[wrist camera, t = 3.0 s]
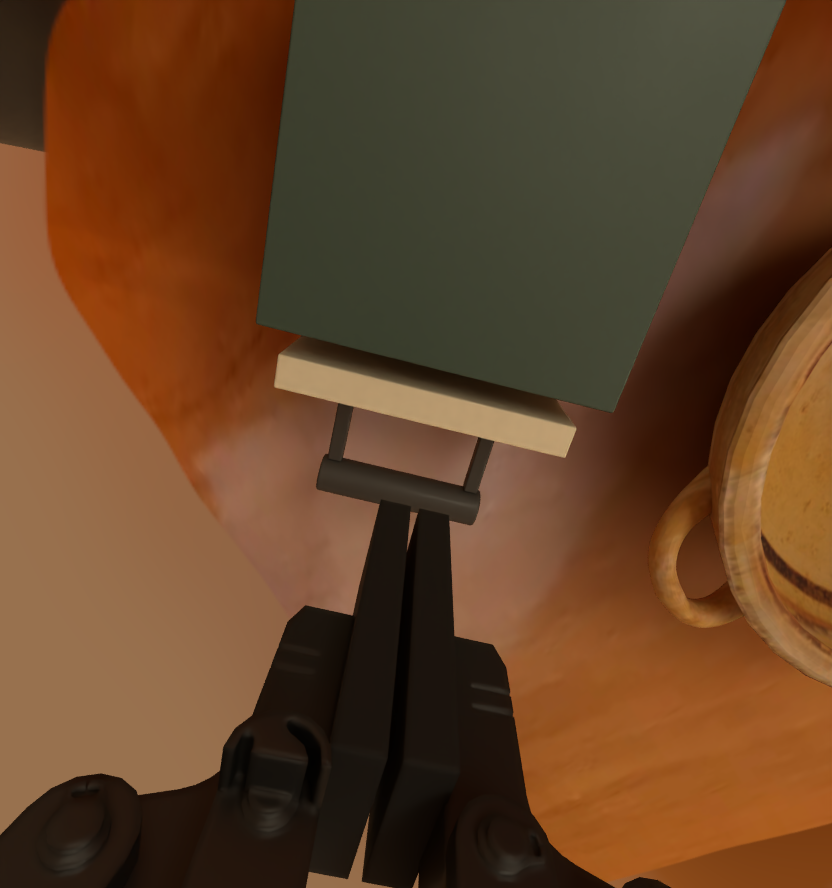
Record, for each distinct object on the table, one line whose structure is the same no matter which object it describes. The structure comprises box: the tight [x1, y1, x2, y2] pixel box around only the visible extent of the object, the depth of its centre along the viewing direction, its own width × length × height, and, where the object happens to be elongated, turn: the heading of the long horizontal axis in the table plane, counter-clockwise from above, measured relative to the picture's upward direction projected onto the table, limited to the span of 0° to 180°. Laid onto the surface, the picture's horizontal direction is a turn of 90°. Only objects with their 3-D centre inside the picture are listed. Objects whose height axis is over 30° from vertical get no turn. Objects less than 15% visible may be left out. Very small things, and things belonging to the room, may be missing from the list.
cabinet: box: [256, 0, 786, 413], centre depth 18 cm, size 14×12×10 cm
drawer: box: [274, 336, 576, 525], centre depth 20 cm, size 18×10×8 cm, turn 166°
